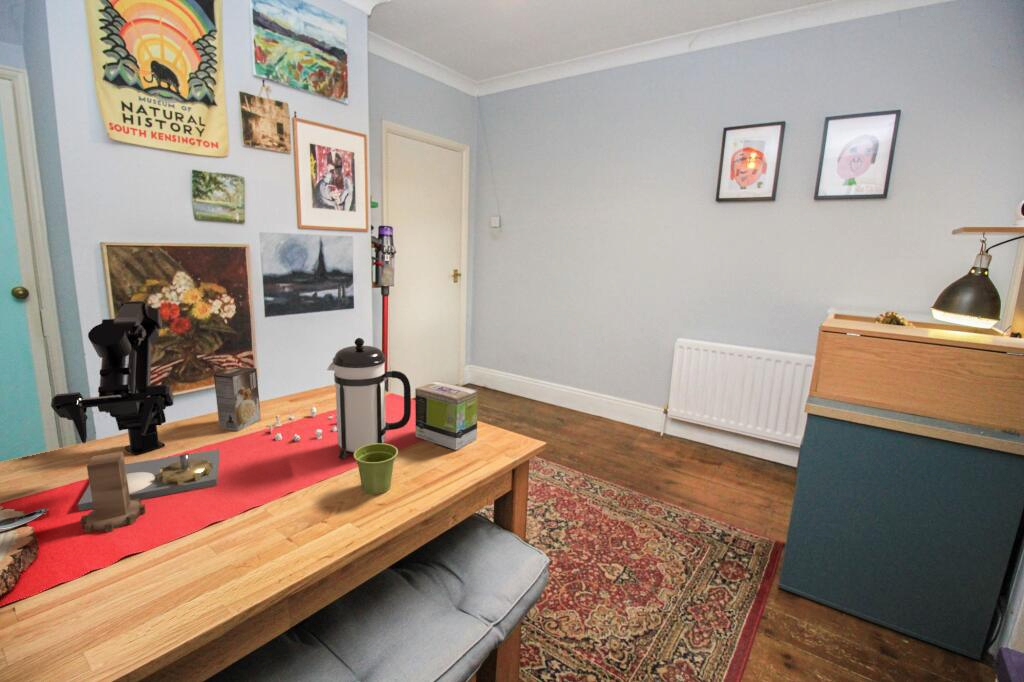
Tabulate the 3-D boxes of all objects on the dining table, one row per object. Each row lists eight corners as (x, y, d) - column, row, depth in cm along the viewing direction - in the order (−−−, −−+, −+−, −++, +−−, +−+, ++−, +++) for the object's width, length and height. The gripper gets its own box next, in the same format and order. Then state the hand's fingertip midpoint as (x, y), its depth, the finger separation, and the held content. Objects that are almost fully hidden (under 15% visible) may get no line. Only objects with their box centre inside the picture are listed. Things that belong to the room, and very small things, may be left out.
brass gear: (149, 476, 102) (146, 457, 101) (198, 459, 110) (196, 442, 110) (172, 490, 97) (170, 470, 96) (221, 471, 106) (219, 453, 105)
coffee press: (361, 469, 112) (358, 348, 106) (319, 451, 121) (314, 338, 114) (412, 444, 127) (412, 336, 120) (372, 430, 135) (369, 328, 129)
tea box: (478, 439, 132) (479, 389, 129) (455, 451, 124) (456, 399, 121) (437, 426, 140) (438, 379, 137) (414, 437, 132) (413, 387, 128)
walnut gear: (89, 511, 91) (79, 453, 89) (149, 500, 96) (141, 444, 93) (75, 538, 83) (63, 475, 81) (141, 525, 88) (132, 464, 85)
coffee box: (243, 417, 140) (238, 365, 137) (261, 419, 139) (257, 367, 135) (218, 428, 131) (213, 374, 128) (238, 431, 130) (233, 376, 127)
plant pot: (406, 482, 107) (406, 447, 105) (382, 503, 99) (381, 465, 97) (371, 474, 110) (371, 440, 108) (345, 494, 101) (344, 457, 100)
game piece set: (293, 414, 145) (292, 402, 144) (354, 419, 143) (353, 408, 142) (251, 439, 126) (250, 426, 126) (320, 447, 124) (319, 433, 123)
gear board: (99, 474, 105) (98, 467, 105) (219, 454, 116) (219, 448, 116) (79, 511, 91) (77, 503, 91) (217, 485, 103) (216, 478, 102)
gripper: (177, 383, 111) (177, 445, 104) (72, 393, 102) (65, 461, 95) (169, 359, 102) (168, 424, 95) (54, 368, 93) (44, 440, 86)
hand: (113, 438), depth 93 cm, fingers open, 9 cm apart
